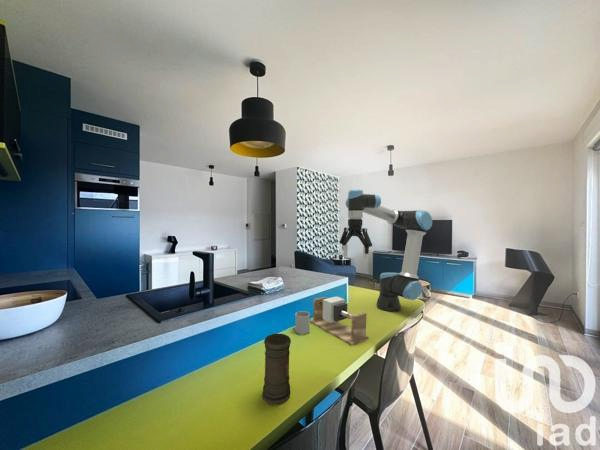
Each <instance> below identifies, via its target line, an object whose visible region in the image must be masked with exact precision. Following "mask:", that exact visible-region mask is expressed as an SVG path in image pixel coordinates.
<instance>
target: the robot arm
mask: <svg viewBox="0 0 600 450" xmlns="http://www.w3.org/2000/svg"><path fill="white" fill-rule="evenodd" d="M381 204H382V198H381V196H380V195H378V194H375V193H374V194H373V193H372V194H370V193H368V194H365V193H364V191H363V189H351V190H348V195H347V198H346V199H345V207H346V208H347V218H348V220H347V227H344V228H343V233H341V234H342V235H341V237H340V239H339V244H341V245H342V247H341V248H342V249H341V250H342V257H343V258H346V257H348V242H349V241H350V240H351V239H352V237H357V238H358V239H359V241H360V242H361V243H362V245H363V247H362V260H363V261H368V255H369V252H370V249H369V248H370V247H373V244H372V242H371V241H372V240H371V238H370V236H369V233H368V228H367V227H363V217H364V215H363V213H364V214H367V215H370V216H371V217H372V216H373V217H375V218H378V219H380V220H383V221H386V222H387V223H388V224H389V225H393V226H395V227H398V228H401V229H405V232H406V234H407V236H406V244H405V249H404V254H403V261H402V266H401V271H400V272H389V271H388V272H382V273H381V274H380V275H379V295H378V299H377V301H376V308H378V309H380V310H381V311H386V312H393V313H395V312H400V311H402V304H401V303H400V302H401V301H400V298H399V297H401V298H403V299H406V300H409V301H413V300H416V299H418V298H419V296H420V295H421V294H422V291H423V286H422V283H421V282H420V277H419V276H418V270H419V264H420V258H421V257H420V256H421V251H422V245H423V244H422V243H423V237H424V236H425V235H426V234H427V231H428V230H430V229H431V228H432V226H433V217H432V216H431V214H430V212H428V211H426V210H420V209H418V210H396V209H390V208H387V207H384V206H382V205H381ZM362 227H363V228H362Z"/></svg>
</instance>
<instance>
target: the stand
mask: <svg viewBox="0 0 600 450" xmlns="http://www.w3.org/2000/svg"><path fill="white" fill-rule="evenodd" d="M323 299H328V297H326V296H322V297H317V298H314V299H313V307H312V308H313V310H312V315H313V316H312V319H311V320H310V323H311V324H313V325H314V326H316V327H318V328H320V329H321V330H323V331H325V332H326V333H328V334H329V335H332V336H333V337H335V338H337V339H339V340H340V341H341V342H342V341H343V342H344V343H345V344H348V345H349V346H354V345H357V344H359V343H361V342H364V341H366V340H369V336H368V335H367V313H365V312H360V313H357V314H353V316H352V320H351V327H349V326H348V325H346V324H344V323H342V322H341V321H337V322H336V321H334V322H331V323H330V322H328V321H327V320H325V319H323V306H321V305H320V302H321V301H322V302H323Z"/></svg>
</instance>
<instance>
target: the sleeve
mask: <svg viewBox="0 0 600 450" xmlns="http://www.w3.org/2000/svg"><path fill="white" fill-rule="evenodd" d="M345 301H346V299H345V298H342V297H340V296H332V297H327V299H323V319H325V320H327V321H328V322H330V323H331V322H334V305H337V304H341V303H346V302H345ZM341 310H342V309H341ZM339 315H340V314H339Z"/></svg>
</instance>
